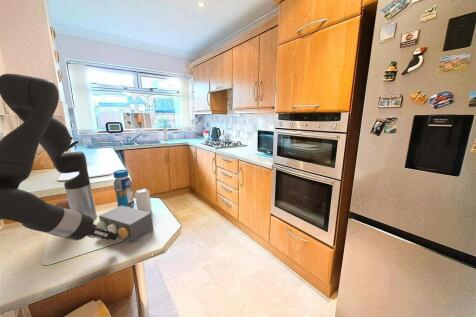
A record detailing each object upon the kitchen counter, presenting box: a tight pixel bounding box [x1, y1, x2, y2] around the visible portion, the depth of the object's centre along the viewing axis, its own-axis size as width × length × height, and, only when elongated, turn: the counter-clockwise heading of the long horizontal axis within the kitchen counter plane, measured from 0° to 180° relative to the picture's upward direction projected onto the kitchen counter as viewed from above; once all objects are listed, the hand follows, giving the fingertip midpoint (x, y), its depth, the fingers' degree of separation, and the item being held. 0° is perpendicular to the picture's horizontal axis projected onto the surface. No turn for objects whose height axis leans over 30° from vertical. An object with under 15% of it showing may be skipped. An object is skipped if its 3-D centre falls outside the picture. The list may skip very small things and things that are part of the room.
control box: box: [98, 206, 154, 244], centre depth 83 cm, size 19×10×8 cm, turn 66°
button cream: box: [107, 224, 118, 233], centre depth 79 cm, size 4×5×4 cm
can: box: [134, 187, 152, 213], centre depth 99 cm, size 6×6×12 cm
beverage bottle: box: [112, 169, 135, 208], centre depth 107 cm, size 8×8×20 cm
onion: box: [55, 196, 70, 209], centre depth 100 cm, size 10×9×10 cm
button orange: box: [118, 227, 129, 240], centre depth 76 cm, size 4×5×4 cm
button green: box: [96, 220, 108, 229], centre depth 81 cm, size 4×5×4 cm
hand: (115, 237), depth 72 cm, fingers closed
